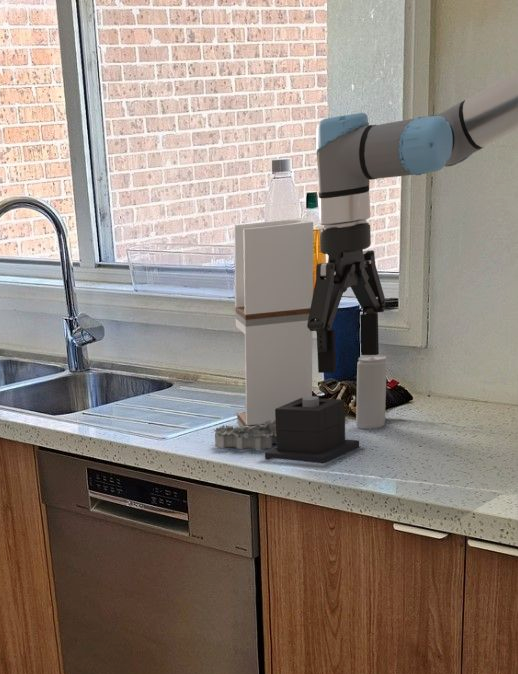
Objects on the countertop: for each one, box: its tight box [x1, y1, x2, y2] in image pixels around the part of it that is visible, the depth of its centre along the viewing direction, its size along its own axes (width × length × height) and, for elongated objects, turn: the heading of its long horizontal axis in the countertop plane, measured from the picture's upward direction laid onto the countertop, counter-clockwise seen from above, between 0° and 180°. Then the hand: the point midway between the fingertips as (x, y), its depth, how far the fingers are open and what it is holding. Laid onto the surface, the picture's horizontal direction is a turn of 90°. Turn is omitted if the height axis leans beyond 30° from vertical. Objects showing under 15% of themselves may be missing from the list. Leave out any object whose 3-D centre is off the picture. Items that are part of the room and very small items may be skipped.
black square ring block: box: [276, 420, 346, 454], centre depth 200 cm, size 8×8×4 cm
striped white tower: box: [233, 217, 314, 427], centre depth 215 cm, size 11×11×35 cm
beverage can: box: [355, 354, 388, 430], centre depth 210 cm, size 5×5×12 cm
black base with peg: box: [264, 395, 360, 464], centre depth 199 cm, size 11×11×10 cm
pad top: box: [275, 398, 346, 432], centre depth 198 cm, size 8×8×4 cm
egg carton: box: [213, 420, 277, 451], centre depth 211 cm, size 11×8×4 cm
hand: (349, 363), depth 196 cm, fingers open, 13 cm apart
